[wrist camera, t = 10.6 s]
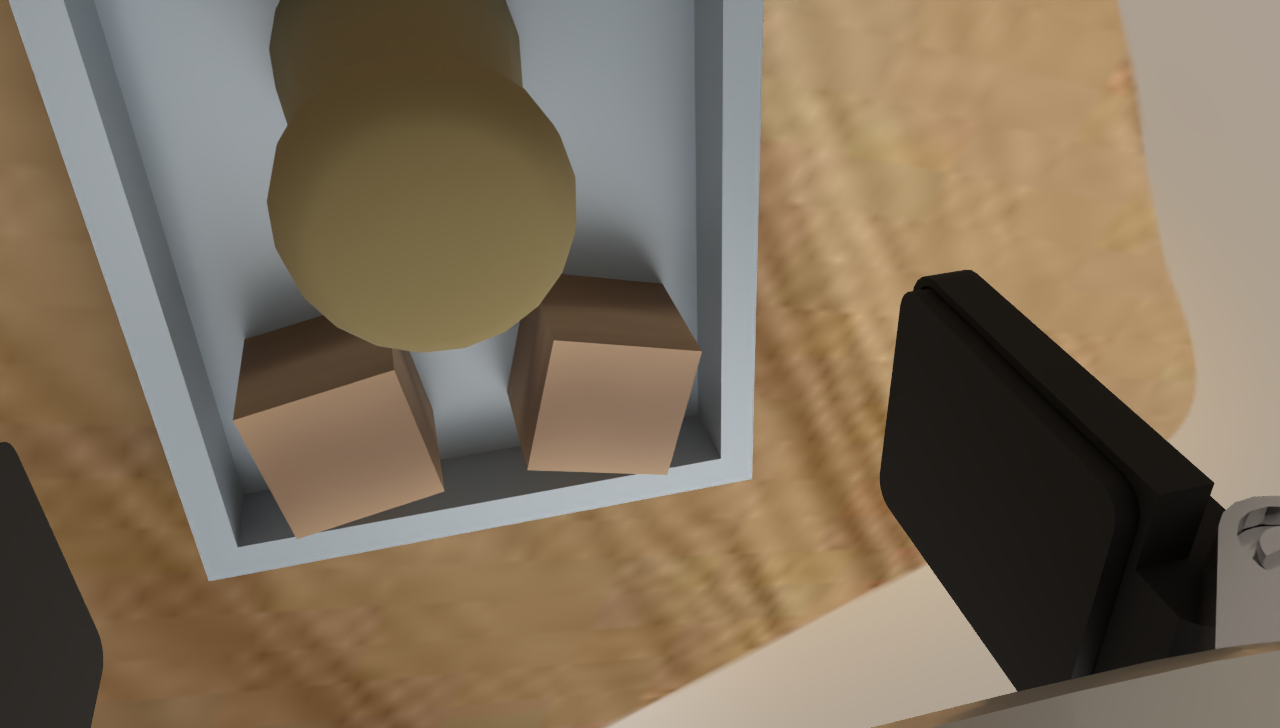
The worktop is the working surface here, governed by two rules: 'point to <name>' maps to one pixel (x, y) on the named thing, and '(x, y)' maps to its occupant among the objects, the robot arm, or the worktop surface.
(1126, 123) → the worktop surface
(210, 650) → the worktop surface
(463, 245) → the cork
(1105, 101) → the worktop surface
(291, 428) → the walnut block
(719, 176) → the tray
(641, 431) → the walnut block
